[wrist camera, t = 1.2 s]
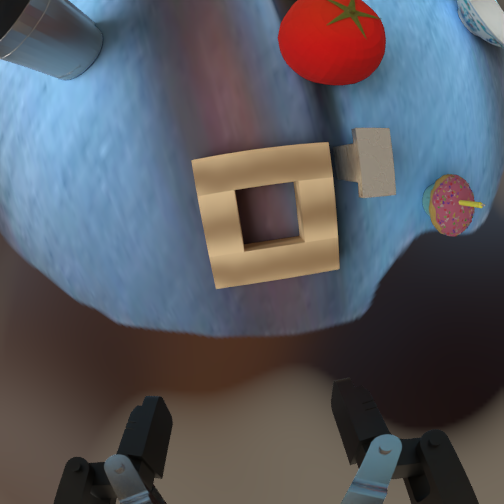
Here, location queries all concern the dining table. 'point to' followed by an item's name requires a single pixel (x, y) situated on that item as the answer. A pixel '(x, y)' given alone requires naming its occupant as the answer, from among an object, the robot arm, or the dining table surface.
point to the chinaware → (483, 19)
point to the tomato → (332, 40)
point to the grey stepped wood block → (367, 162)
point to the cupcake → (450, 204)
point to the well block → (273, 251)
